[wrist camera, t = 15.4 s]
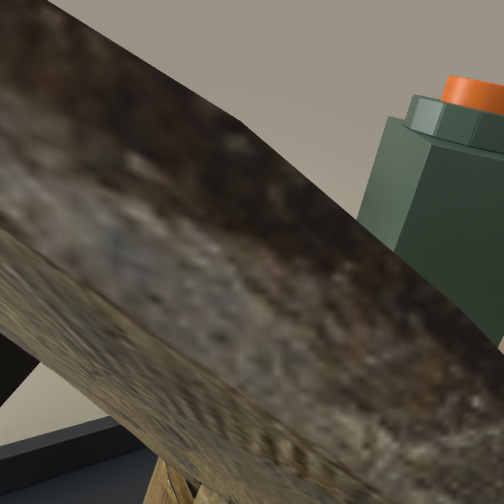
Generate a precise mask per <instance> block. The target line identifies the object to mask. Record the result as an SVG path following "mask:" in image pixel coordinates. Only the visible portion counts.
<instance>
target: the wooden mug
mask: <svg viewBox="0 0 504 504" xmlns="http://www.w3.org/2000/svg"><path fill="white" fill-rule="evenodd" d="M0 333H1V334H3V335H4V336H5V337H7V338H8V339H10V340H11V341H13V342H14V343H15V344H17V345H18V346H19V347H21V348H22V349H24V350H25V351H26V352H28V353H29V354H31V355H32V356H33V357H35V358H36V359H37V360H39V361H40V362H42V363H43V364H44V365H46V366H47V367H49V368H50V369H51V370H53V371H54V372H55V373H57V374H58V375H60V376H61V377H62V378H64V379H65V380H66V381H68V382H69V383H70V384H71V385H72V386H74V387H75V388H76V389H77V390H79V391H80V392H81V393H82V394H83V395H85V396H86V397H87V398H88V399H90V400H91V401H92V402H93V403H94V404H96V405H97V406H98V407H99V408H101V409H102V410H103V411H104V412H106V413H107V414H108V415H110V416H111V417H112V418H113V419H115V420H116V421H117V422H119V423H120V424H121V425H122V426H124V427H125V428H126V429H128V430H129V431H130V432H131V433H132V434H134V435H135V436H136V437H137V438H138V439H139V440H140V441H142V442H143V443H144V444H145V445H146V446H147V447H148V448H150V449H151V450H152V451H153V452H154V453H155V454H156V455H158V456H159V457H158V460H157V463H156V466H155V469H154V472H153V475H152V478H151V480H150V483H149V486H148V489H147V492H146V495H145V498H144V501H143V504H504V355H503V353H502V352H501V351H500V350H499V349H498V348H497V347H496V346H495V345H494V344H493V343H492V342H491V341H490V340H489V339H488V338H487V337H486V336H485V334H484V333H483V332H482V331H481V330H480V329H479V328H478V327H477V326H476V325H475V324H474V323H473V322H472V321H471V320H470V319H469V318H468V317H467V315H466V314H465V313H464V312H463V311H462V310H461V309H460V308H459V307H457V306H456V305H455V304H454V303H453V302H452V301H450V300H449V299H448V298H447V297H446V296H444V295H443V294H442V293H441V292H440V291H439V290H437V289H436V288H435V287H434V286H433V285H432V284H430V283H429V282H428V281H427V280H426V279H425V278H423V277H422V276H421V275H420V274H419V273H418V272H416V271H415V270H414V269H413V268H412V267H411V266H409V265H408V264H407V263H406V262H405V261H404V260H402V259H401V258H400V257H399V256H398V255H396V254H395V253H394V252H393V251H392V250H391V249H389V248H388V247H387V246H386V245H385V244H384V243H382V242H381V241H380V240H379V239H378V238H377V237H375V236H374V235H373V234H372V233H371V232H370V231H368V230H367V229H366V228H365V227H364V226H363V225H361V224H360V223H359V222H358V221H357V220H355V219H354V218H353V217H352V216H350V214H348V213H347V212H346V211H345V210H344V209H342V208H341V207H340V206H339V205H338V204H337V203H336V202H334V201H333V200H332V199H331V198H330V197H328V196H327V195H326V194H325V193H324V192H323V191H322V190H320V189H319V188H318V187H317V186H316V185H314V184H313V183H312V182H311V181H310V180H309V179H307V178H306V177H305V176H304V175H303V174H302V173H300V172H299V171H298V170H297V169H296V168H295V167H293V166H292V165H291V164H290V163H289V162H288V161H286V160H285V159H284V158H283V157H282V156H281V155H279V154H278V153H277V152H276V151H275V150H274V149H272V148H271V147H270V146H269V145H268V144H267V143H265V142H264V141H263V140H262V139H260V138H259V137H258V136H257V135H256V134H255V133H254V132H252V131H251V130H250V129H249V128H248V127H247V126H245V125H244V124H243V123H242V122H241V121H239V120H238V119H236V118H235V117H233V116H231V115H230V114H228V113H227V112H225V111H223V110H222V109H220V108H219V107H217V106H215V105H214V104H212V103H210V102H209V101H207V100H206V99H204V98H203V97H201V96H199V95H198V94H196V93H195V92H193V91H191V90H190V89H188V88H187V87H185V86H183V85H182V84H180V83H178V82H177V81H175V80H174V79H172V78H171V77H169V76H167V75H166V74H164V73H162V72H161V71H159V70H158V69H156V68H155V67H153V66H151V65H150V64H148V63H147V62H145V61H143V60H142V59H140V58H139V57H137V56H135V55H134V54H132V53H131V52H129V51H127V50H126V49H124V48H123V47H121V46H119V45H118V44H116V43H114V42H113V41H111V40H110V39H108V38H106V37H105V36H103V35H102V34H100V33H99V32H97V31H95V30H94V29H92V28H90V27H89V26H87V25H86V24H84V23H83V22H81V21H79V20H78V19H76V18H75V17H73V16H71V15H70V14H68V13H67V12H65V11H63V10H62V9H60V8H58V7H57V6H55V5H54V4H52V3H50V2H49V1H47V0H0Z"/></svg>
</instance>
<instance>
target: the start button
mask: <svg viewBox="0 0 504 504" xmlns="http://www.w3.org/2000/svg"><path fill="white" fill-rule="evenodd" d="M440 101H444V102H448V103H452V104H456V105H461V106H465V107H470V108H474V109H479V110H483V111H488V112H492V113H497V114H502V115H504V86H503V85H499V84H494V83H489V82H484V81H479V80H474V79H469V78H463V77H457V76H449V77H448V80H447V83H446V86H445V89H444V92H443V95H442V97H441V100H440Z"/></svg>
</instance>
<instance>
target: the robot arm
mask: <svg viewBox="0 0 504 504" xmlns="http://www.w3.org/2000/svg"><path fill="white" fill-rule="evenodd" d="M39 363H40V361H39V360H37V359H36V358H35V357H33V356H32V355H31V354H29V353H28V352H26V351H25V350H24V349H22V348H21V347H19V346H18V345H17V344H15V343H14V342H13V341H11V340H10V339H8V338H7V337H5V336H4V335H3V334H1V333H0V407H1V406H2V405H3V404H4V402H5V401H6V400H7V399H8V398H9V397H10V396H11V395H12V393H13V392H14V391H15V390H16V389H17V388H18V387H19V386H20V384H21V383H22V382H23V381H24V380H25V379H26V378H27V377H28V375H29V374H30V373H31V372H32V371H33V370H34V369H35V368H36V366H37V365H38V364H39Z"/></svg>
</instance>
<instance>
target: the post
mask: <svg viewBox="0 0 504 504" xmlns="http://www.w3.org/2000/svg"><path fill="white" fill-rule="evenodd" d="M357 221H358V222H359V223H360V224H361V225H363V226H364V227H365V228H366V229H367V230H368V231H370V232H371V233H372V234H373V235H374V236H375V237H377V238H378V239H379V240H380V241H381V242H382V243H384V244H385V245H386V246H387V247H388V248H389V249H391V250H392V251H393V252H394V253H395V254H396V255H398V256H399V257H400V258H401V259H402V260H404V261H405V262H406V263H407V264H408V265H409V266H411V267H412V268H413V269H414V270H415V271H416V272H418V273H419V274H420V275H421V276H422V277H423V278H425V279H426V280H427V281H428V282H429V283H430V284H432V285H433V286H434V287H435V288H436V289H437V290H439V291H440V292H441V293H442V294H443V295H444V296H446V297H447V298H448V299H449V300H450V301H452V302H453V303H454V304H455V305H456V306H457V307H459V308H460V309H461V310H462V311H463V312H464V313H465V314H466V315H467V317H468V318H469V319H470V320H471V321H472V322H473V323H474V324H475V325H476V326H477V327H478V328H479V329H480V330H481V331H482V332H483V333H484V334H485V336H486V337H487V338H488V339H489V340H490V341H491V342H492V343H493V344H494V345H495V346H496V347H497V348H498V346H499V344H500V342H501V340H502V338H503V336H504V115H502V114H497V113H492V112H488V111H483V110H479V109H474V108H470V107H465V106H461V105H456V104H452V103H448V102H444V101H440V99H435V98H430V97H425V96H420V95H413V97H412V100H411V103H410V106H409V109H408V112H407V115H406V118H405V120H403V119H398V118H394V117H388V119H387V122H386V125H385V128H384V132H383V135H382V138H381V142H380V145H379V148H378V151H377V155H376V158H375V161H374V165H373V168H372V171H371V174H370V178H369V181H368V184H367V187H366V190H365V194H364V197H363V200H362V204H361V207H360V210H359V213H358V217H357Z"/></svg>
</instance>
